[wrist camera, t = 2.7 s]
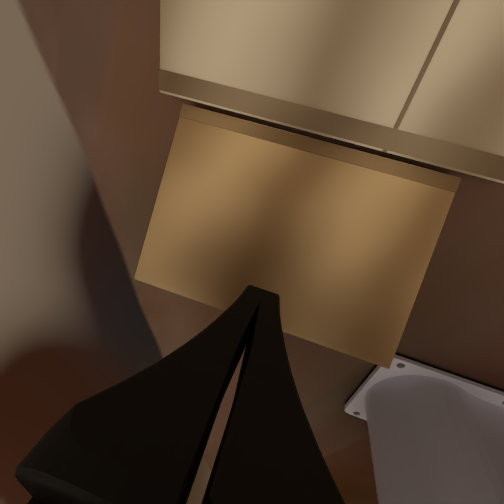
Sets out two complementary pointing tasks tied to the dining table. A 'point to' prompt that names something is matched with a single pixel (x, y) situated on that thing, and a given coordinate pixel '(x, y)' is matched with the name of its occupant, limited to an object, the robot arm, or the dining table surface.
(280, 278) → the board
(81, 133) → the dining table surface
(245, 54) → the floor board
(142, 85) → the dining table surface
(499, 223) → the dining table surface
